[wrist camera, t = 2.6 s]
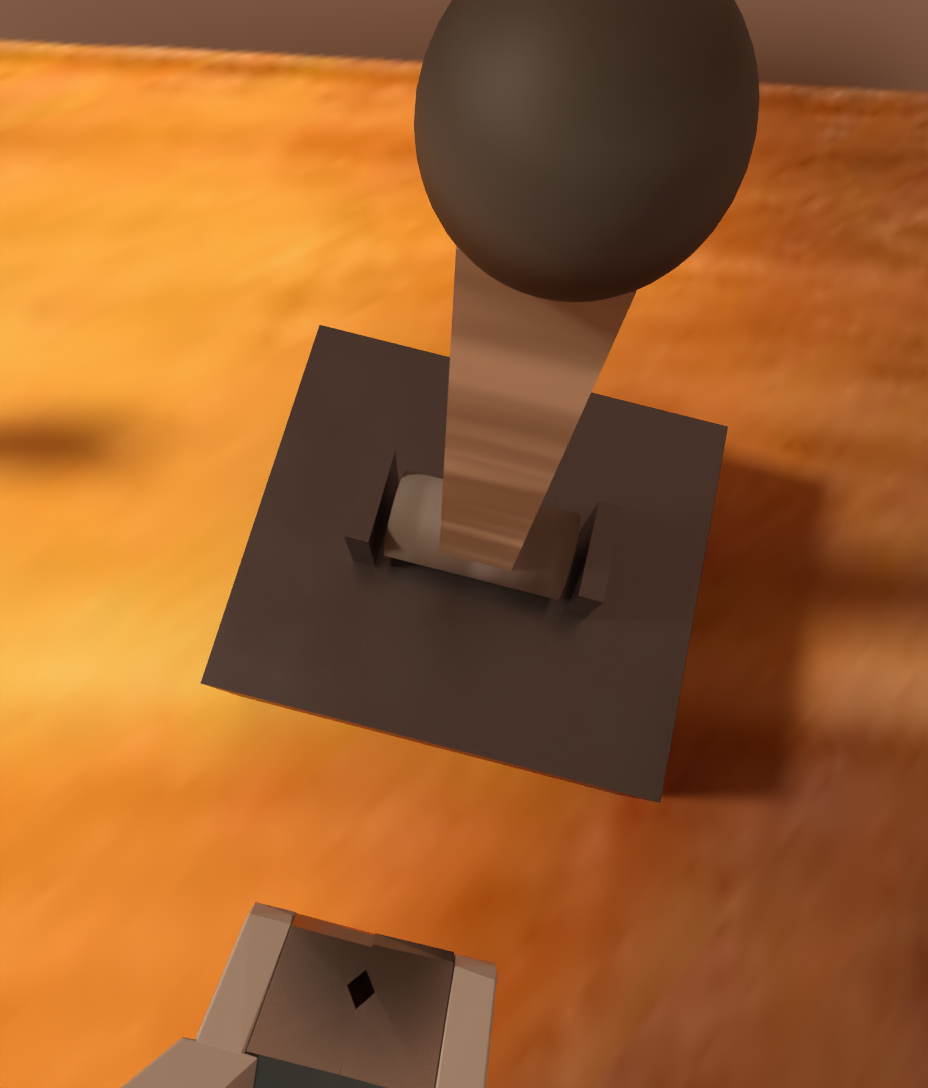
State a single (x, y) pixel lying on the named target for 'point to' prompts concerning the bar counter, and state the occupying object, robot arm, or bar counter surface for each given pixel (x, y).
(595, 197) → the lever
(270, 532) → the base
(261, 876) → the bar counter surface
